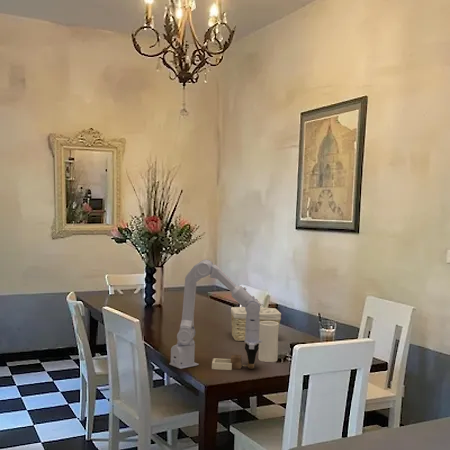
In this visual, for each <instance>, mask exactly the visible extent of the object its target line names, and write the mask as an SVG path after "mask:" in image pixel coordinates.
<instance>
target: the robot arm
mask: <svg viewBox="0 0 450 450" xmlns="http://www.w3.org/2000/svg"><path fill="white" fill-rule="evenodd" d="M208 276H209V278H210V279H214V280H215V279H216V280H218V281H219V282H220V283H221V284H222V285H223V286H225V288H226V289H228V290H229V291H230V293H231V297H232V298H233V300H235V301H236V302H237V303H238V304H239V305H240V307H245V310H246V312H247V315H246V328H245V341H244V349H245V352H246V356H247V363H248V362H249V364H254V365H255V362H256V356H257V353H258V352H259V343H262V340H259V329H260V318H259V317H260V313H259V312H260V308H261V303H260V302H259V300H258V299H257V298H256V297H255V296H254V295H251V294H250V293H249V291H247V288H246V287H245V286H242V285H236V283H235V282H234V281H232V280H231V278H230V277H229V276H228V275H227V274H226V273H225V272H224V271H223V270H222V269H221V268H220V267H219V266H218V265H217V264H216V263H213V261H211V260H210V259H203V260H201V261H200V262H198V263H196V264H194V265H193V267H192V268H191V269H190V270H189V272H188V273H187V274H186V275H185V278H184V288H183V289H184V290H183V300H182V313H181V321H180V325H179V330H178V332H177V334H176V339H177V342H176V344H175V345H173V346H171V348H170V362H169V365H170V366H172V367H174V368H177V369H180V370H183V369H187V368H192V367H196V366H199V363H197V362H195V351H196V349H195V348H196V344H195V343H196V341H195V340H194V338H195V336H196V329H195V321H194V318H195V309H196V308H195V306H196V305H195V304H196V295H197V282H198V281H200V280H201V279H204V278H206V277H208Z"/></svg>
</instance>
